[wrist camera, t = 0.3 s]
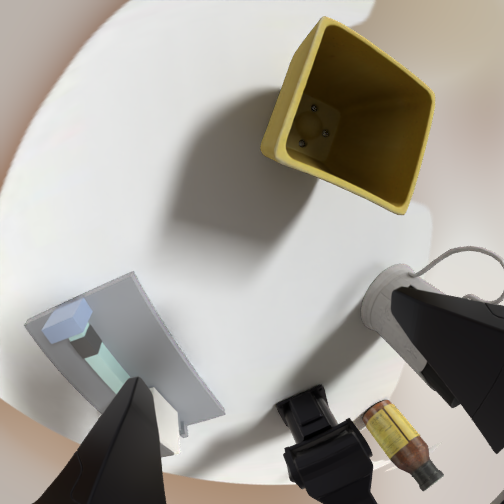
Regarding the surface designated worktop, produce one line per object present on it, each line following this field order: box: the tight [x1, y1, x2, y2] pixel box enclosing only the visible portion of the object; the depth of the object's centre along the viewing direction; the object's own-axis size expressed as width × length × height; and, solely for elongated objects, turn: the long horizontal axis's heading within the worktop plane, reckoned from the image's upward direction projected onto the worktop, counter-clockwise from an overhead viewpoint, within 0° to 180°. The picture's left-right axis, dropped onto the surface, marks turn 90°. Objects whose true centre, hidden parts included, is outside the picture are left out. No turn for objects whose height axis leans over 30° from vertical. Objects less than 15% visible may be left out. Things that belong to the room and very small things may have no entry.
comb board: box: [24, 272, 225, 438], centre depth 22 cm, size 20×14×4 cm
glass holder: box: [361, 246, 504, 408], centre depth 21 cm, size 9×14×15 cm, turn 177°
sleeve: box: [149, 387, 181, 457], centre depth 22 cm, size 5×5×6 cm
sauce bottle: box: [363, 400, 444, 491], centre depth 29 cm, size 6×6×20 cm
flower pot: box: [261, 16, 435, 215], centre depth 15 cm, size 9×9×9 cm
